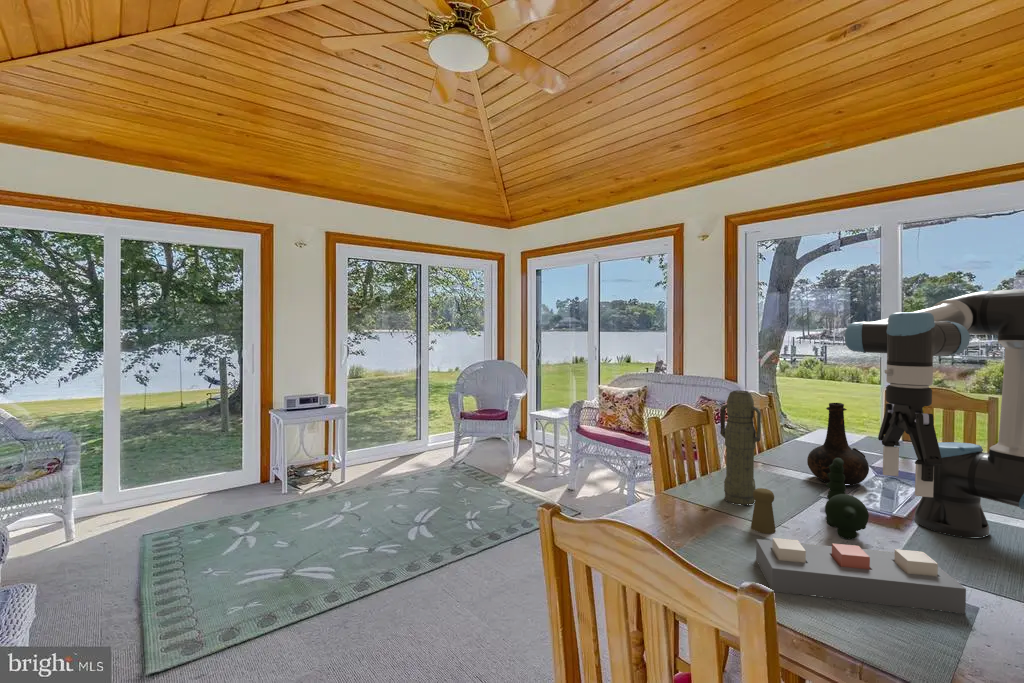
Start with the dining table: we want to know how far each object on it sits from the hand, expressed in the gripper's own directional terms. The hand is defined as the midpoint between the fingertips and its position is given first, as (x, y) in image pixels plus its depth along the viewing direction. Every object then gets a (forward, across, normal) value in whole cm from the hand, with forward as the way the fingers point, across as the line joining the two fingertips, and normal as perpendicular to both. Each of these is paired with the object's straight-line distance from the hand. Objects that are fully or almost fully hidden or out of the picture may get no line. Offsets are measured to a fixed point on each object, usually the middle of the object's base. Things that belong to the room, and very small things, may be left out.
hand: (906, 485), depth 102 cm
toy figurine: (+22, -30, -1) cm, 37 cm away
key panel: (+22, +2, -10) cm, 25 cm away
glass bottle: (+22, -73, +12) cm, 77 cm away
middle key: (+19, +2, -11) cm, 21 cm away
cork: (+22, -24, -22) cm, 40 cm away
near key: (+19, +1, +1) cm, 19 cm away
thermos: (+22, -45, -25) cm, 56 cm away
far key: (+19, +2, -23) cm, 29 cm away
